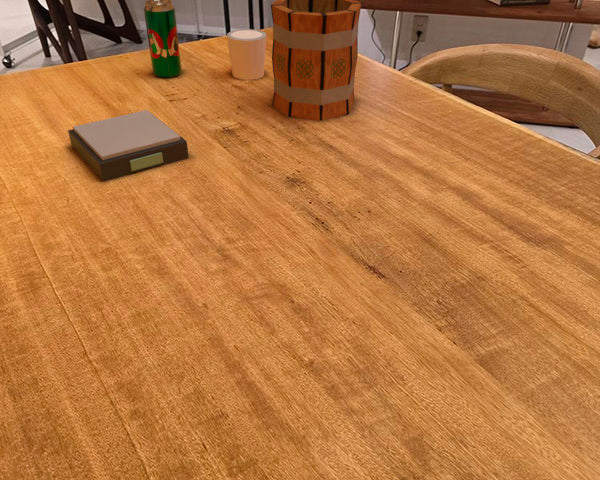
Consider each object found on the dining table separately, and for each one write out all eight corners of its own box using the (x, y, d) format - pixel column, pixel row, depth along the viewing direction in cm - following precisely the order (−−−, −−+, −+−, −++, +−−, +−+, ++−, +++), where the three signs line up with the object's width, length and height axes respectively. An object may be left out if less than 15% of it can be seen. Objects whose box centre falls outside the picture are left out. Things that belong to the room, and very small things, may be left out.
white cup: (233, 67, 109) (231, 27, 104) (270, 69, 108) (269, 29, 104) (225, 80, 104) (222, 38, 99) (263, 82, 103) (262, 40, 99)
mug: (364, 119, 91) (372, 14, 82) (277, 123, 90) (276, 17, 80) (338, 76, 106) (344, -17, 97) (264, 78, 105) (261, -15, 95)
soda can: (179, 68, 108) (171, -3, 100) (184, 78, 104) (176, 4, 97) (151, 71, 107) (141, -2, 99) (155, 80, 103) (144, 6, 95)
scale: (104, 183, 75) (99, 160, 73) (72, 148, 82) (66, 126, 80) (189, 159, 80) (187, 137, 78) (152, 128, 88) (148, 107, 86)
